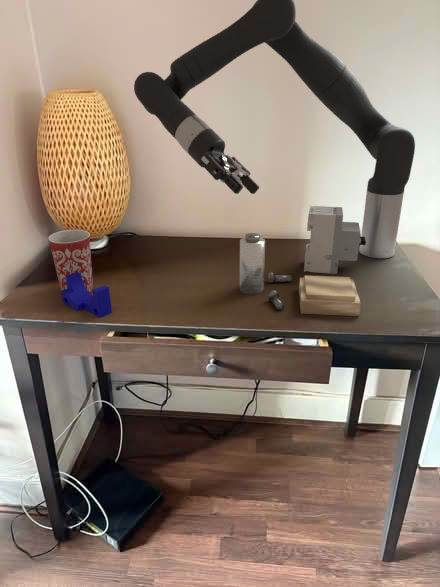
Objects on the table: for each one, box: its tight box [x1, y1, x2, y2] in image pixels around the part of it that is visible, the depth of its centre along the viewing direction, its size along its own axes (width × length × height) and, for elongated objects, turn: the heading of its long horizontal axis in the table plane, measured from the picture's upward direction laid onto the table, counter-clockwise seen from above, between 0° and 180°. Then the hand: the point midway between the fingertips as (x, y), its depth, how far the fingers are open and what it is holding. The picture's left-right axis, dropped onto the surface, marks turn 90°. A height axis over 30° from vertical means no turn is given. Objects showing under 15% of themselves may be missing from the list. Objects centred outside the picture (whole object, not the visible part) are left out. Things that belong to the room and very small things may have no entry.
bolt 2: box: [267, 289, 285, 311], centre depth 103 cm, size 5×2×2 cm, turn 13°
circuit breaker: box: [303, 205, 366, 275], centre depth 119 cm, size 8×14×15 cm, turn 78°
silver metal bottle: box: [239, 232, 266, 295], centre depth 108 cm, size 6×6×13 cm
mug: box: [47, 229, 94, 294], centre depth 110 cm, size 13×9×14 cm
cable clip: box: [60, 273, 113, 319], centre depth 102 cm, size 12×4×6 cm, turn 47°
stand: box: [298, 275, 362, 317], centre depth 104 cm, size 12×12×4 cm
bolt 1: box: [268, 272, 293, 283], centre depth 114 cm, size 5×2×2 cm, turn 93°
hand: (248, 190), depth 103 cm, fingers open, 8 cm apart
